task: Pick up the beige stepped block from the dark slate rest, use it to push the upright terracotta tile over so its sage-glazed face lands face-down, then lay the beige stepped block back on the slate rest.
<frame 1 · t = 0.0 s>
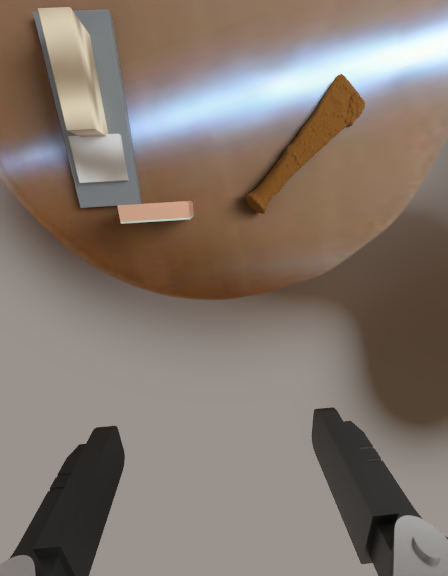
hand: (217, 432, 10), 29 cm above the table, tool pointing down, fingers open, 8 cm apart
primitive tool: (297, 149, 34), on the table
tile: (164, 210, 35), on the table
beige stepped block: (94, 128, 30), point 1 cm above the table, touching slate rest
slate rest: (96, 121, 31), on the table
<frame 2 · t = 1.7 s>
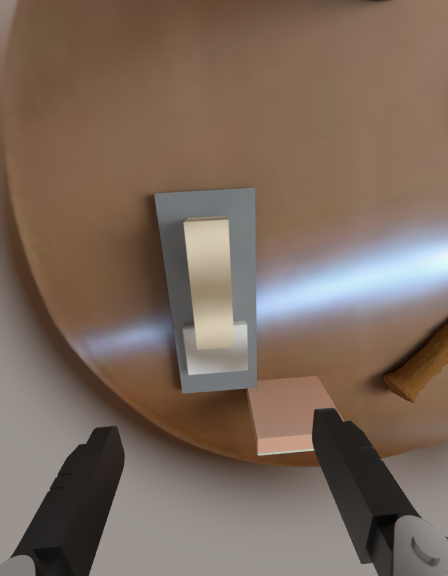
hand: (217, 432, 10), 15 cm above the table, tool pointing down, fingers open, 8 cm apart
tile: (281, 385, 28), on the table
beige stepped block: (214, 315, 23), point 1 cm above the table, touching slate rest
slate rest: (213, 301, 24), on the table
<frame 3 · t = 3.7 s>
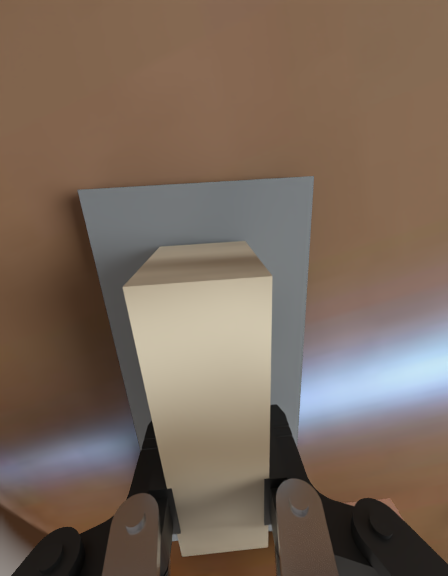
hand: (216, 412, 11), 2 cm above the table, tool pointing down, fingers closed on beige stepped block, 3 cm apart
beige stepped block: (218, 428, 12), point 1 cm above the table, touching gripper, slate rest
slate rest: (216, 394, 13), on the table
when the fingers open (3 cm above the table, at t = 13.5 s): beige stepped block drops 2 cm, resting on slate rest.
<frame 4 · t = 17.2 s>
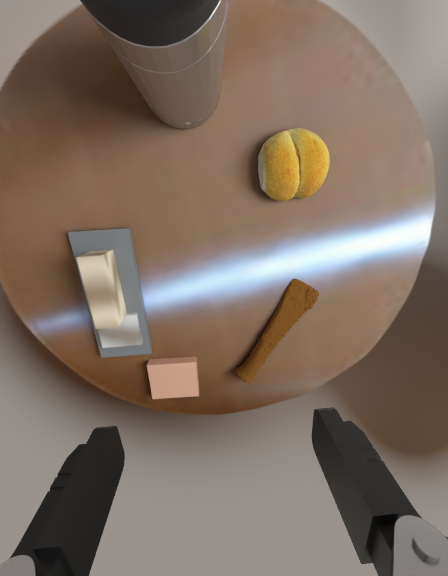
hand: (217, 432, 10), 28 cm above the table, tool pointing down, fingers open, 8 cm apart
primitive tool: (271, 327, 41), on the table
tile: (172, 360, 41), on the table, tilted 90°
beige stepped block: (115, 309, 37), point 1 cm above the table, touching slate rest
bread roll: (288, 168, 33), on the table
slate rest: (115, 296, 37), on the table
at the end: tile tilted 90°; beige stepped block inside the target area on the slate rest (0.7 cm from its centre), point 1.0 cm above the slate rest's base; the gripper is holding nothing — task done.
